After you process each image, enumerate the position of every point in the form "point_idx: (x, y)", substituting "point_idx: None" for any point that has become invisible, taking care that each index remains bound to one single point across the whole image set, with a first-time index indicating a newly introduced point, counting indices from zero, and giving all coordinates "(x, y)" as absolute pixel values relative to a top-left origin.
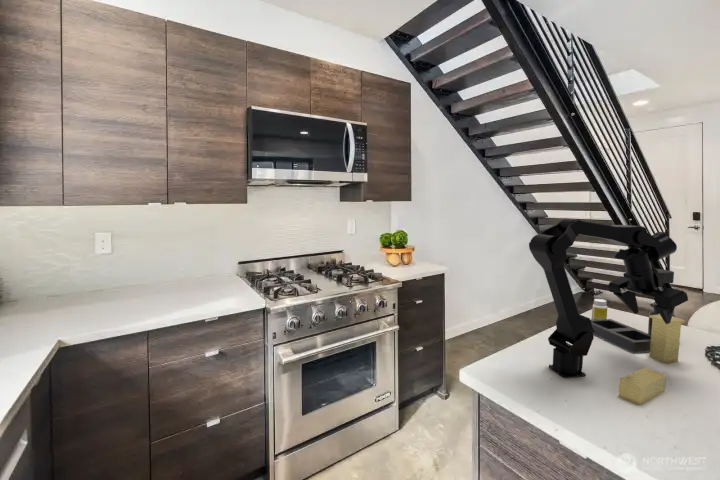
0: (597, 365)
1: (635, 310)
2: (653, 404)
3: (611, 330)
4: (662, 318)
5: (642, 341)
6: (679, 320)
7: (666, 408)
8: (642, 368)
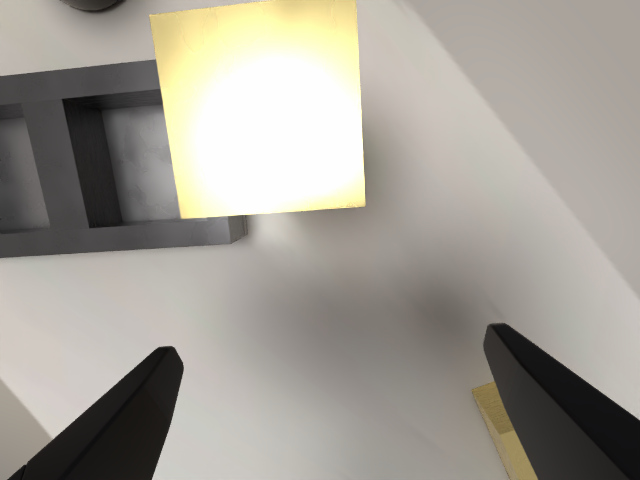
0: (333, 433)
1: (169, 393)
2: None
3: (71, 228)
4: (523, 439)
5: None
6: (355, 60)
7: None
8: (507, 449)
